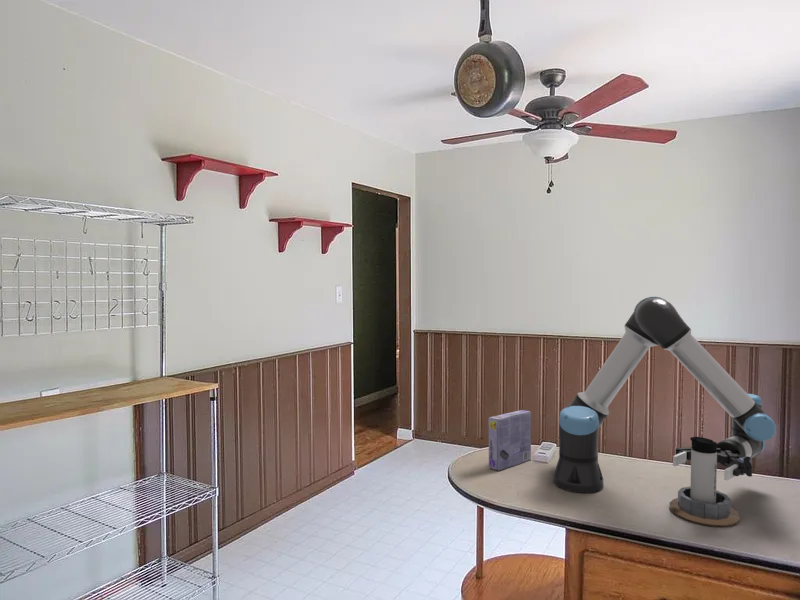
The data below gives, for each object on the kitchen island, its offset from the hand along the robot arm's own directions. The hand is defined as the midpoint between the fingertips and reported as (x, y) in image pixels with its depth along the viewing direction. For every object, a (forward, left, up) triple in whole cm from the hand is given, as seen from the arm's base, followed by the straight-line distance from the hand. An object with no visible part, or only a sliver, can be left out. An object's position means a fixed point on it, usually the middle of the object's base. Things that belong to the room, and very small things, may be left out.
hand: (699, 467), depth 151 cm
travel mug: (-1, +3, -13) cm, 13 cm away
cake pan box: (-53, -28, -14) cm, 62 cm away
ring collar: (-1, +3, -13) cm, 14 cm away
